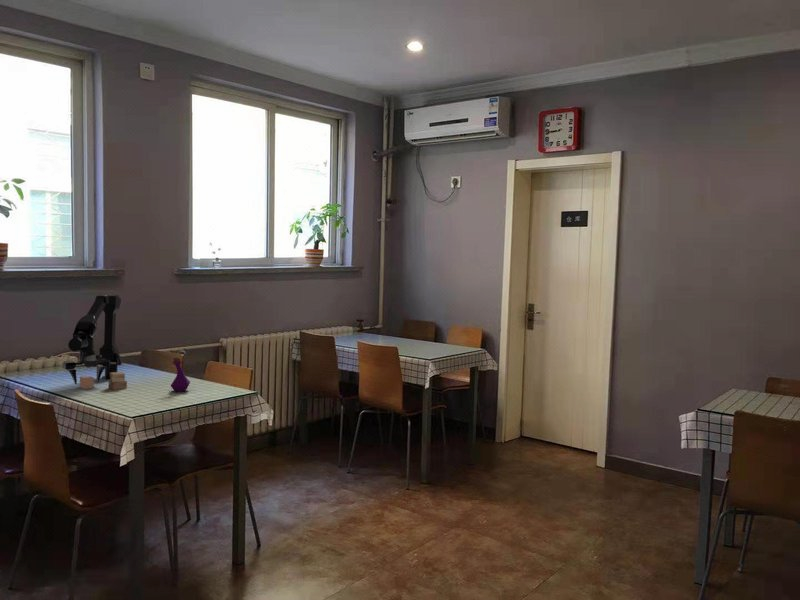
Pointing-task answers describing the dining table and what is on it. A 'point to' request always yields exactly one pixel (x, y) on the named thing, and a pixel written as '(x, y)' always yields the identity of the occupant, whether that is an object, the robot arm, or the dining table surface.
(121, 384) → the tower base
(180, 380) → the purple faceted vase
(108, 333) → the robot arm
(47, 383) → the dining table surface
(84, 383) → the cube
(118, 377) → the tower mid
